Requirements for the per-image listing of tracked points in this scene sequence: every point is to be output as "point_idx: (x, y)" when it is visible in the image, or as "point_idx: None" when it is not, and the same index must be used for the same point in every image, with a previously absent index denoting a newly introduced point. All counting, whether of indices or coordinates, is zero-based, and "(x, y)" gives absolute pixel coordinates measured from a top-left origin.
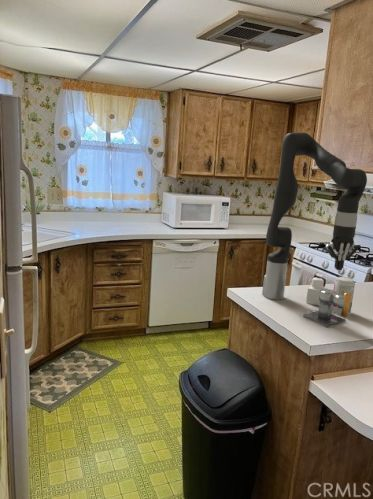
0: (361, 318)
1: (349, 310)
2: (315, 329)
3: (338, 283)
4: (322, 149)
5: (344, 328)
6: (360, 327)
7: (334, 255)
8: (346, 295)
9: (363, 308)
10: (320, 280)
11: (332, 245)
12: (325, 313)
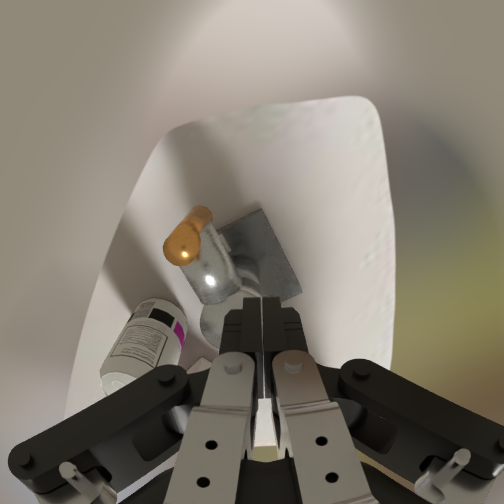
0: (117, 275)
1: (141, 305)
2: (310, 194)
3: None
4: None
5: (205, 201)
6: (148, 210)
7: (388, 387)
8: (193, 237)
9: (92, 335)
10: None
11: (454, 498)
12: (247, 265)
